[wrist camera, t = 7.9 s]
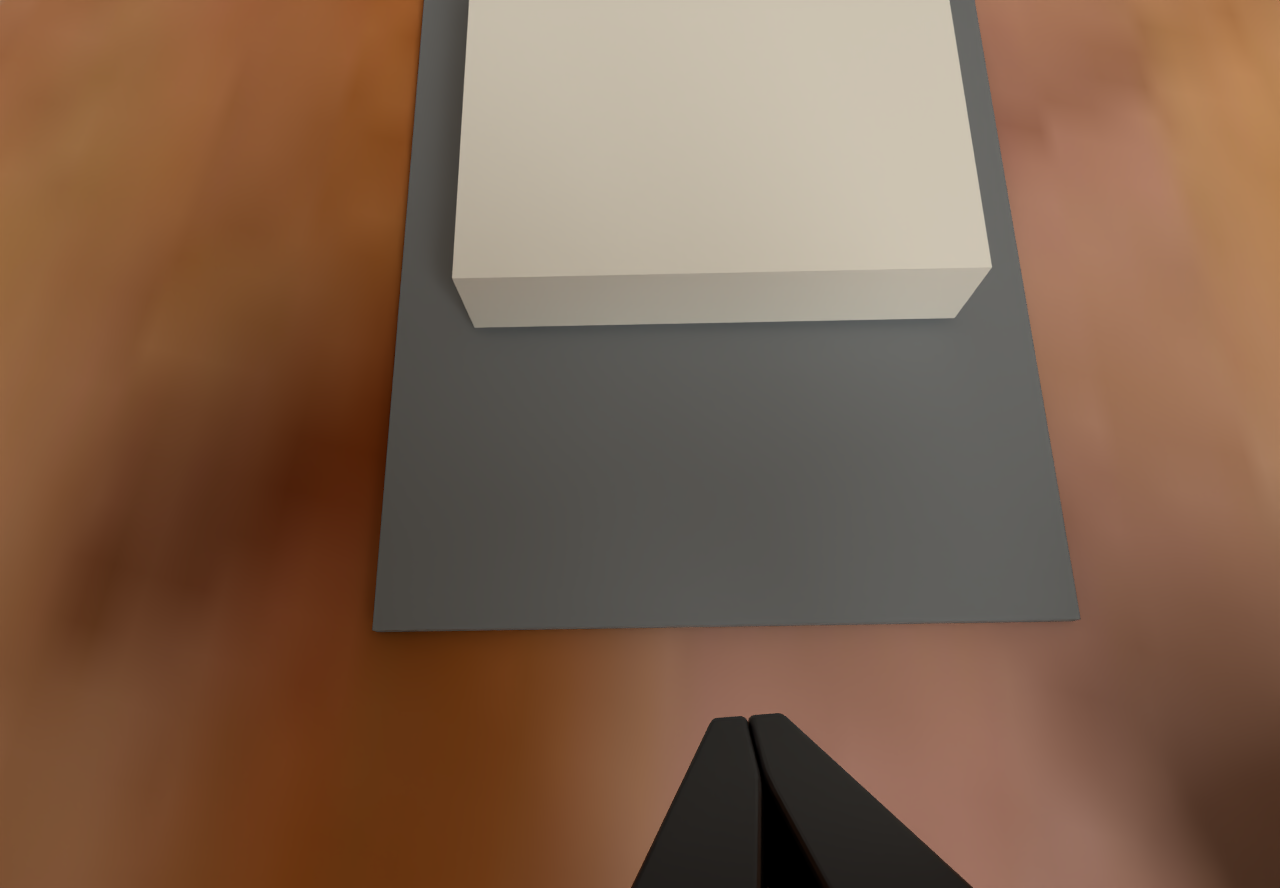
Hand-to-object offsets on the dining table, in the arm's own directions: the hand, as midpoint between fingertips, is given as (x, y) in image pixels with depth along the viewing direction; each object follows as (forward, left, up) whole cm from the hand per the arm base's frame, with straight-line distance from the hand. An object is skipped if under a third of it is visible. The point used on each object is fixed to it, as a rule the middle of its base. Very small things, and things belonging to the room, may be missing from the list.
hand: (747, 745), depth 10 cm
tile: (+7, -7, -8) cm, 12 cm away
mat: (+9, -9, -10) cm, 16 cm away
